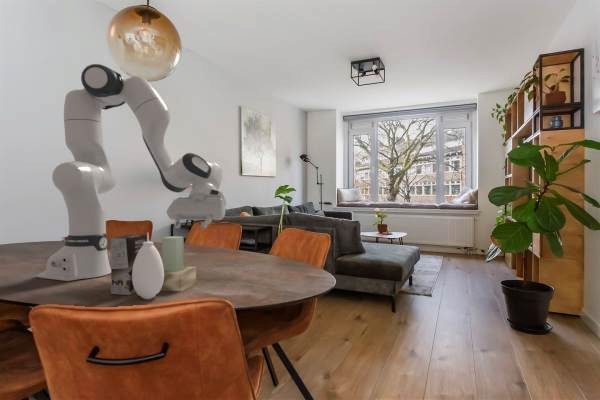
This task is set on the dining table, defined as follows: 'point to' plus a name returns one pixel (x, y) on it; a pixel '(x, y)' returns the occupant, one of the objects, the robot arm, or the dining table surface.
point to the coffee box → (124, 262)
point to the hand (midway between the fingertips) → (189, 227)
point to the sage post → (173, 253)
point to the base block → (179, 279)
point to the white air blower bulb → (148, 271)
